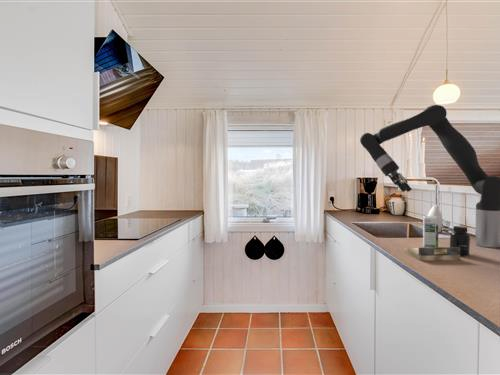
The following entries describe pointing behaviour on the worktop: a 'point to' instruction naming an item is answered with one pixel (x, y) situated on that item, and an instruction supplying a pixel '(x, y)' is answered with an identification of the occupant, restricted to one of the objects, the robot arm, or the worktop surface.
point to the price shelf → (434, 253)
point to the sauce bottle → (436, 213)
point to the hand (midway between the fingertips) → (407, 190)
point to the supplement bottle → (460, 240)
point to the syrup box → (430, 231)
